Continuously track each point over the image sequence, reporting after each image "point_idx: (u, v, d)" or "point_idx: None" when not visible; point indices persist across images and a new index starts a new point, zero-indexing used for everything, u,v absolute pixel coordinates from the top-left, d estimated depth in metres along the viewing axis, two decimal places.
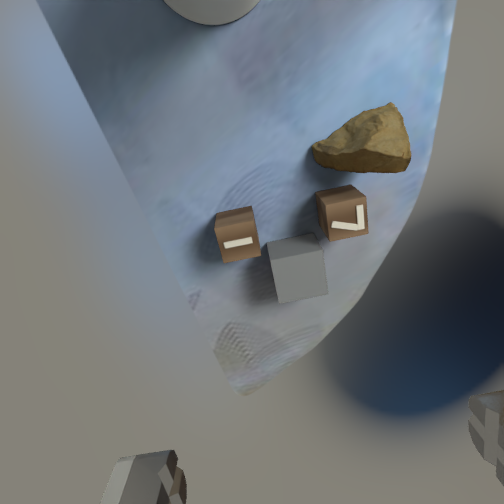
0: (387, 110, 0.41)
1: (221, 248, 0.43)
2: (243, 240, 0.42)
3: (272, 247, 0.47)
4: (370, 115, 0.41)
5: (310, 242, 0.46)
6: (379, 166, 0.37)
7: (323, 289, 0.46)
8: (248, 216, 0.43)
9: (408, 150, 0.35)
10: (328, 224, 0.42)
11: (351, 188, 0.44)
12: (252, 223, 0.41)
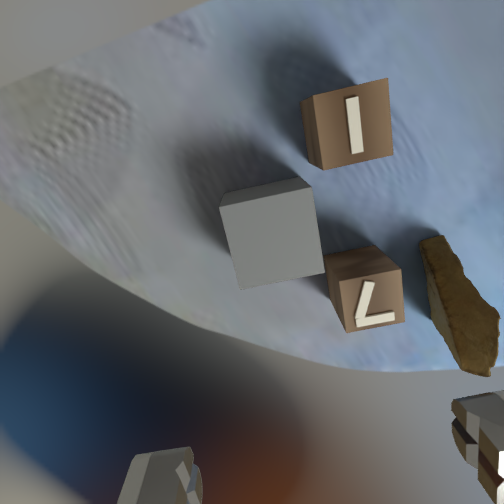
0: None
1: (344, 91, 0.22)
2: (359, 136, 0.23)
3: None
4: None
5: None
6: (466, 336, 0.26)
7: (249, 281, 0.27)
8: None
9: None
10: (368, 276, 0.27)
11: None
12: (387, 153, 0.24)
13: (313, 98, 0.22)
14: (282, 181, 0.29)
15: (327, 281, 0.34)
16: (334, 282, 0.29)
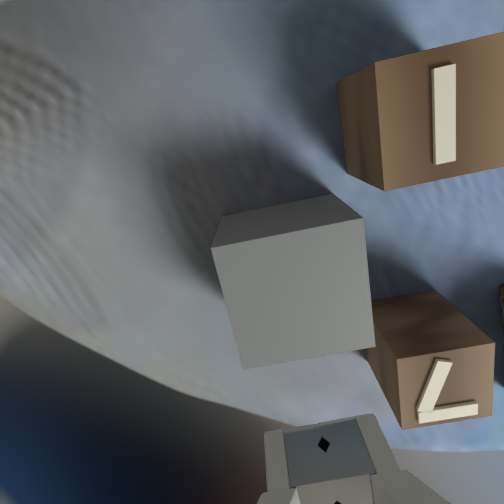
0: None
1: (431, 55, 0.13)
2: (451, 135, 0.13)
3: None
4: None
5: None
6: None
7: (258, 357, 0.17)
8: None
9: None
10: (442, 352, 0.17)
11: None
12: (494, 163, 0.14)
13: (375, 67, 0.13)
14: (307, 201, 0.20)
15: None
16: (383, 351, 0.20)
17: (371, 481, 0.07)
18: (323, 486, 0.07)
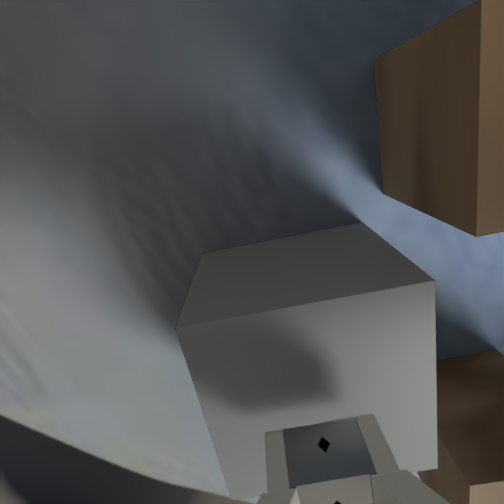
0: None
1: None
2: None
3: None
4: None
5: None
6: None
7: (254, 484, 0.11)
8: None
9: None
10: None
11: None
12: None
13: (480, 10, 0.07)
14: (326, 234, 0.14)
15: None
16: None
17: (371, 481, 0.07)
18: (323, 485, 0.07)
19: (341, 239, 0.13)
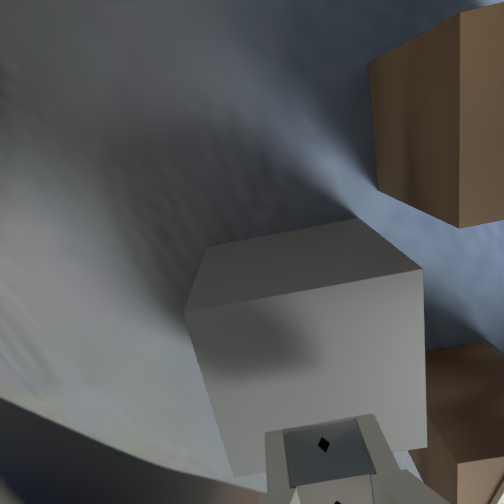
0: None
1: None
2: None
3: None
4: None
5: None
6: None
7: (256, 461, 0.12)
8: None
9: None
10: None
11: None
12: None
13: (459, 23, 0.07)
14: (324, 228, 0.14)
15: None
16: (428, 436, 0.14)
17: (371, 481, 0.07)
18: (323, 485, 0.07)
19: (338, 233, 0.14)
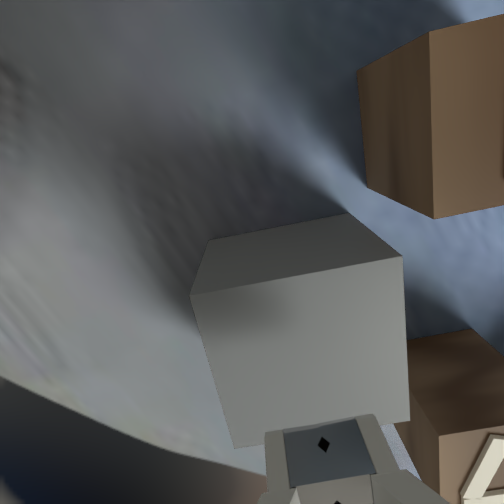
0: None
1: None
2: None
3: None
4: None
5: None
6: None
7: (254, 434, 0.13)
8: None
9: None
10: (498, 426, 0.13)
11: None
12: None
13: (429, 40, 0.09)
14: (318, 222, 0.16)
15: None
16: (414, 414, 0.16)
17: (371, 481, 0.07)
18: (323, 485, 0.07)
19: (330, 227, 0.15)
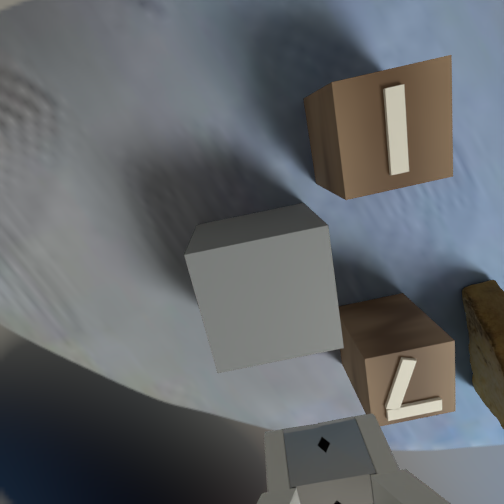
0: None
1: (382, 76, 0.14)
2: (404, 148, 0.15)
3: None
4: None
5: None
6: None
7: (232, 361, 0.18)
8: None
9: None
10: (406, 351, 0.18)
11: None
12: (444, 173, 0.15)
13: (332, 87, 0.14)
14: (279, 210, 0.21)
15: None
16: (353, 352, 0.21)
17: (371, 481, 0.07)
18: (323, 485, 0.07)
19: (287, 212, 0.20)
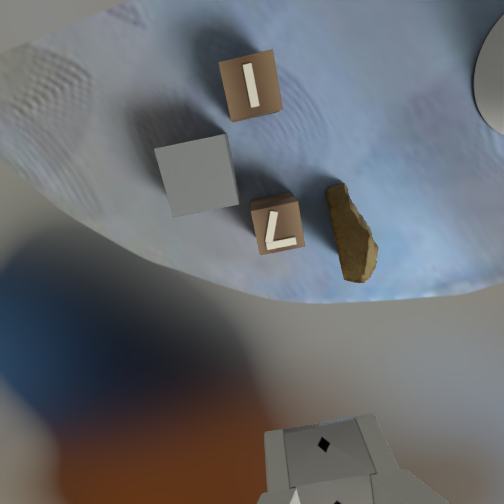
0: None
1: (241, 59, 0.30)
2: (255, 93, 0.31)
3: (227, 140, 0.36)
4: None
5: (237, 190, 0.37)
6: (347, 253, 0.34)
7: (180, 210, 0.35)
8: None
9: (365, 279, 0.34)
10: (273, 207, 0.35)
11: None
12: (278, 107, 0.31)
13: (219, 64, 0.30)
14: None
15: None
16: None
17: (371, 481, 0.07)
18: (323, 486, 0.07)
19: None
